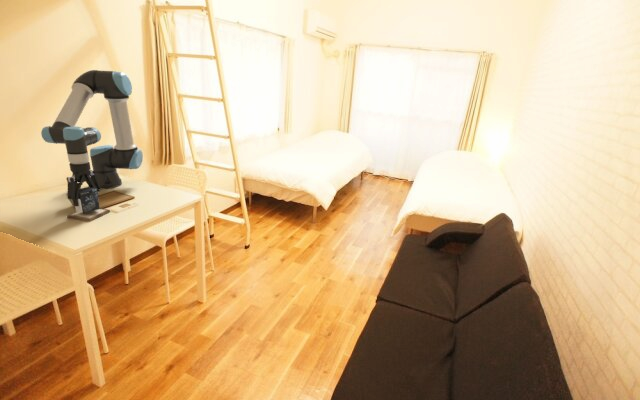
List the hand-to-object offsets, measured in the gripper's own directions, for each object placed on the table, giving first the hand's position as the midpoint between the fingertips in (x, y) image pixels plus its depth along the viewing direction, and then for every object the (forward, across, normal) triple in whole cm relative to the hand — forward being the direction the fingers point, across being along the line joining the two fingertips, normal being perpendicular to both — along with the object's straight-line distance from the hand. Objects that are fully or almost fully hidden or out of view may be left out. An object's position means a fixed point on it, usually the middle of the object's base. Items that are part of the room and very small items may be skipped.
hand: (88, 208), depth 157 cm
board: (+3, 0, 0) cm, 3 cm away
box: (+1, 0, 0) cm, 1 cm away
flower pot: (+4, -8, -12) cm, 15 cm away
